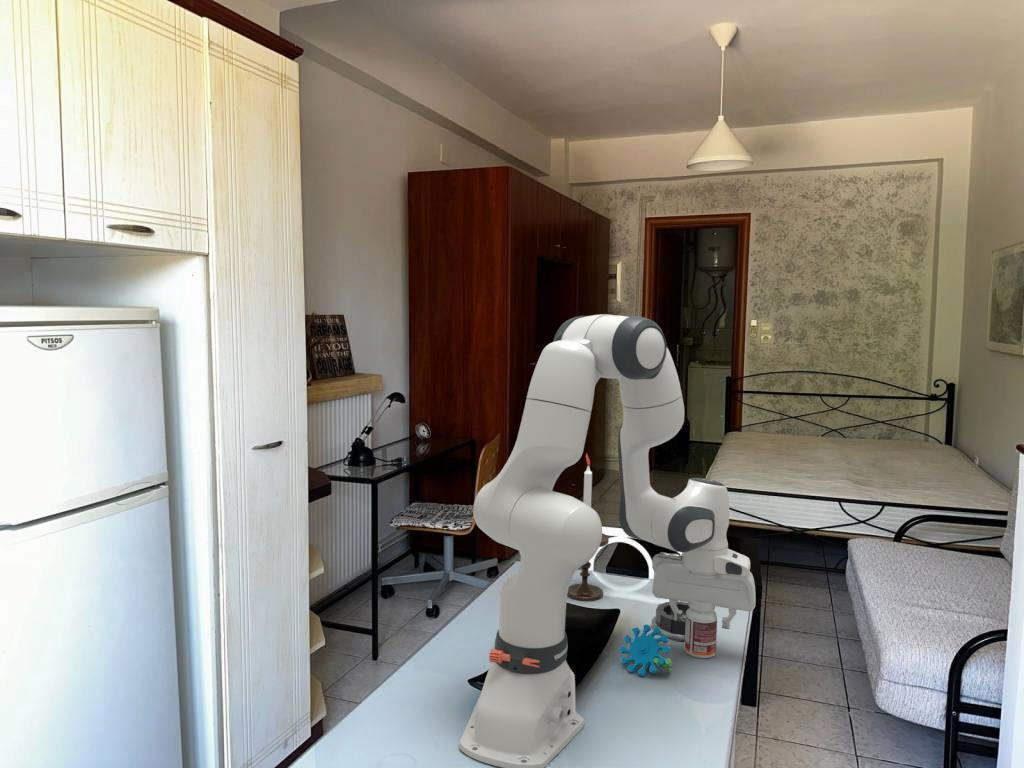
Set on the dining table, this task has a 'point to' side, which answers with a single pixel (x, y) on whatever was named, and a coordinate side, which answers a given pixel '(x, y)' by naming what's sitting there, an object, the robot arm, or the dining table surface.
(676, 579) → the robot arm
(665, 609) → the notched hollow ring
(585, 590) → the candlestick
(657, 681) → the dining table surface
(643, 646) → the gear
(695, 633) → the pill bottle
